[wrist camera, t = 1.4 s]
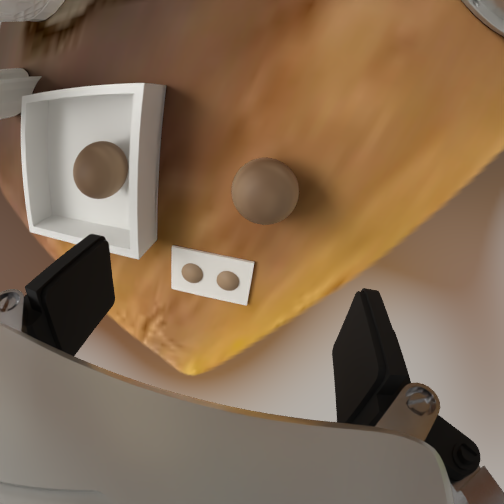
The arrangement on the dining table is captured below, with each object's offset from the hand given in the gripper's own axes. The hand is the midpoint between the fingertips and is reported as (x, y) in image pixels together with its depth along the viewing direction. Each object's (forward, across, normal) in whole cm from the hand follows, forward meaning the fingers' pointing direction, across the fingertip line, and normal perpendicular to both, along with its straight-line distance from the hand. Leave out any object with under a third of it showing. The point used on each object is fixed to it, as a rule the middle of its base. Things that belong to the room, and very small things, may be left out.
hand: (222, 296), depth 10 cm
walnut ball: (+13, 0, 0) cm, 13 cm away
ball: (+12, +14, 0) cm, 19 cm away
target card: (+16, +4, +10) cm, 19 cm away
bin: (+16, +17, 0) cm, 23 cm away
